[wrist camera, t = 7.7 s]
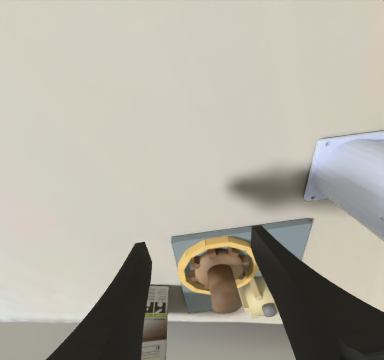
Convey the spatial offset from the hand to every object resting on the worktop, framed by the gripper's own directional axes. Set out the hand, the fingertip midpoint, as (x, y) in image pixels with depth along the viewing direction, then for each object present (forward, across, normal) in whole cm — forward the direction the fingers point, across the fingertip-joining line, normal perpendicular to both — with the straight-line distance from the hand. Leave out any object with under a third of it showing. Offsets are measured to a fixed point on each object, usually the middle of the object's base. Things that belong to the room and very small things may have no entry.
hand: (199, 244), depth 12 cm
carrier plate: (+9, -6, +18) cm, 21 cm away
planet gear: (+8, -2, +15) cm, 17 cm away
